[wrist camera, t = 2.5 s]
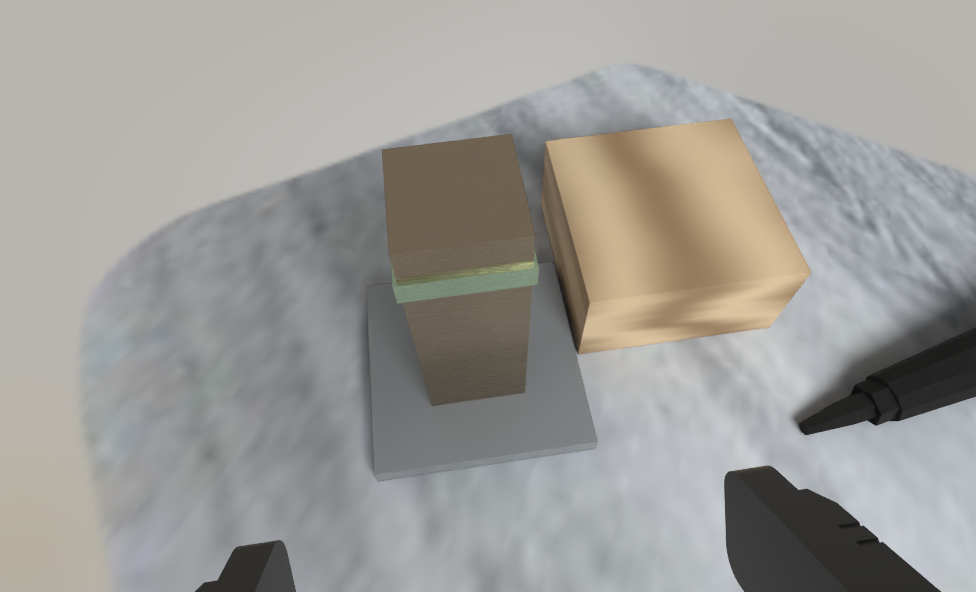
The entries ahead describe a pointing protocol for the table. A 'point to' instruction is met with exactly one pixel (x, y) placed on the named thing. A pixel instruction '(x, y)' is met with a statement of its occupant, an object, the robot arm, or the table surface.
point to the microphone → (906, 387)
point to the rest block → (665, 236)
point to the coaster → (478, 423)
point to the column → (463, 263)
